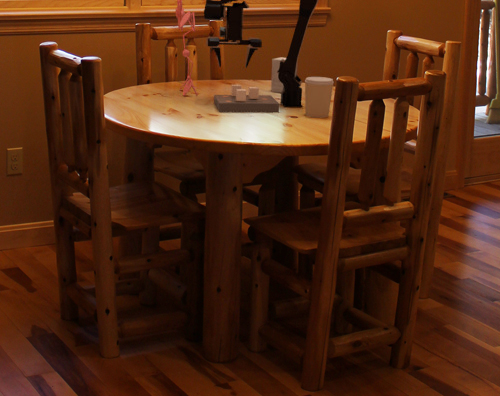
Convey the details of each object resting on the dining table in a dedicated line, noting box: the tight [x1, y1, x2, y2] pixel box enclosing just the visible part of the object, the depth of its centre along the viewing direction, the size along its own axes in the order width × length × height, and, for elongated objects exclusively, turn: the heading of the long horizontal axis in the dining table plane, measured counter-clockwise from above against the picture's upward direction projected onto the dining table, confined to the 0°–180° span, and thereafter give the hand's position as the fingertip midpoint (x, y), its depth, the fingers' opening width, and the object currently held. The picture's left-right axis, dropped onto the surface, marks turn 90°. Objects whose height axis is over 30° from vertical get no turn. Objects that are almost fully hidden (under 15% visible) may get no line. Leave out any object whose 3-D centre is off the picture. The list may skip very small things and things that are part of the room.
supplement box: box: [270, 56, 287, 94], centre depth 272 cm, size 7×7×13 cm
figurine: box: [161, 0, 199, 98], centre depth 256 cm, size 15×26×35 cm, turn 8°
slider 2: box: [236, 88, 247, 101], centre depth 234 cm, size 3×2×4 cm
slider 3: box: [248, 86, 260, 99], centre depth 239 cm, size 3×2×4 cm
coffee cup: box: [304, 76, 335, 119], centre depth 231 cm, size 9×9×12 cm
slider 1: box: [230, 84, 242, 96], centre depth 242 cm, size 3×2×4 cm
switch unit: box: [213, 94, 280, 113], centre depth 240 cm, size 20×15×3 cm
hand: (233, 67), depth 247 cm, fingers open, 9 cm apart
